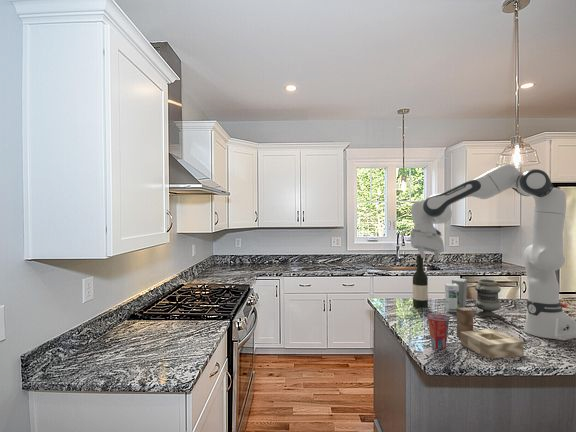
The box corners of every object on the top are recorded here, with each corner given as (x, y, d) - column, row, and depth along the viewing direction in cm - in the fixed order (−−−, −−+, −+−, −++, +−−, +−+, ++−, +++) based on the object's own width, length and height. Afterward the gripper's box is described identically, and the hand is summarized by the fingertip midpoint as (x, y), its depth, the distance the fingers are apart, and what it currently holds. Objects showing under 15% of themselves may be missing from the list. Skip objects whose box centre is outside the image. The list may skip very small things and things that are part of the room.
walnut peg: (465, 334, 154) (465, 307, 154) (473, 338, 150) (472, 310, 150) (456, 335, 153) (456, 308, 153) (463, 339, 149) (463, 310, 149)
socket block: (492, 341, 146) (492, 329, 146) (523, 355, 131) (523, 341, 131) (460, 344, 143) (460, 331, 143) (488, 358, 128) (488, 344, 128)
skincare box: (454, 304, 206) (454, 277, 206) (467, 306, 202) (467, 278, 202) (450, 307, 200) (450, 279, 200) (464, 309, 195) (463, 280, 195)
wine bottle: (423, 308, 198) (422, 255, 198) (409, 305, 204) (409, 253, 204) (431, 306, 203) (430, 253, 203) (417, 303, 209) (417, 252, 210)
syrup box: (448, 311, 191) (447, 285, 191) (445, 309, 197) (444, 282, 197) (459, 312, 190) (459, 285, 190) (456, 309, 196) (455, 283, 196)
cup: (453, 346, 141) (452, 316, 141) (446, 352, 135) (445, 321, 135) (429, 340, 147) (429, 312, 147) (421, 346, 141) (421, 316, 141)
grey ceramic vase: (477, 317, 180) (476, 282, 180) (472, 311, 191) (472, 278, 191) (504, 319, 176) (503, 283, 176) (497, 312, 188) (497, 279, 188)
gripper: (415, 225, 166) (421, 254, 160) (443, 233, 176) (449, 259, 170) (405, 230, 171) (410, 257, 165) (432, 237, 181) (438, 263, 175)
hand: (430, 259), depth 168 cm, fingers open, 8 cm apart
